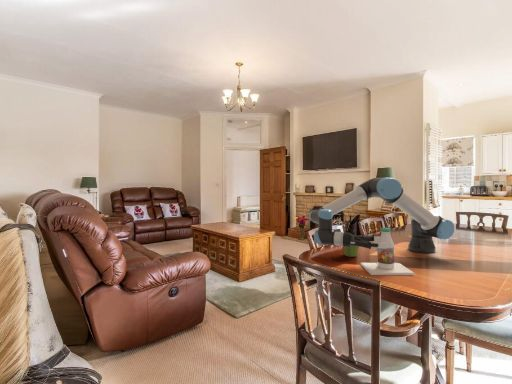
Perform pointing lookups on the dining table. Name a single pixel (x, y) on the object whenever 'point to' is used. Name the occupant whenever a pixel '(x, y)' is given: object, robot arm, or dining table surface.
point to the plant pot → (351, 250)
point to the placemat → (397, 269)
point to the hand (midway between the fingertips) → (386, 243)
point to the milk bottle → (385, 250)
